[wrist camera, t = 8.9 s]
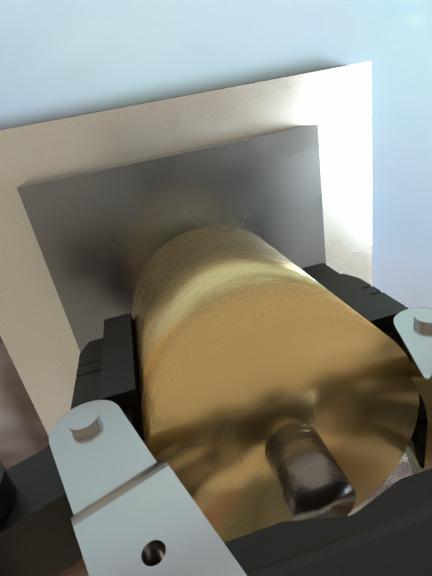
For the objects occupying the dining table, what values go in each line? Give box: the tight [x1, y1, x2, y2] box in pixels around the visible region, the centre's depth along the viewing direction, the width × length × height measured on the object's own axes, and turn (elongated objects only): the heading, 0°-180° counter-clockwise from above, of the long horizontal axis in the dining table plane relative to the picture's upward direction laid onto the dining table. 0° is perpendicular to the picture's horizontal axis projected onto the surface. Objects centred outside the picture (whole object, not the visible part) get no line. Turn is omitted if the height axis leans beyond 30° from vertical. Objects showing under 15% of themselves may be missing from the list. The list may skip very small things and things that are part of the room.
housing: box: [133, 226, 419, 543], centre depth 9 cm, size 5×5×7 cm
